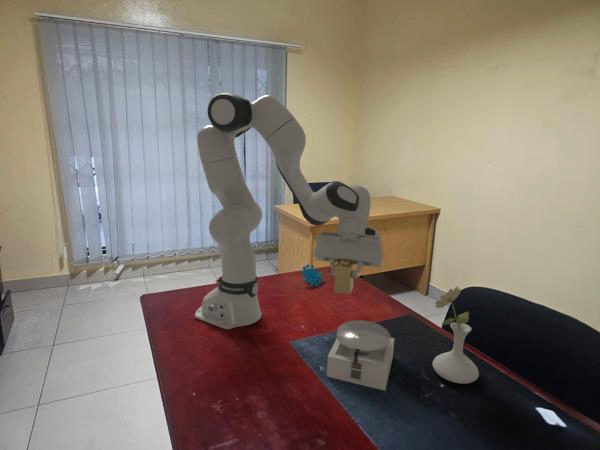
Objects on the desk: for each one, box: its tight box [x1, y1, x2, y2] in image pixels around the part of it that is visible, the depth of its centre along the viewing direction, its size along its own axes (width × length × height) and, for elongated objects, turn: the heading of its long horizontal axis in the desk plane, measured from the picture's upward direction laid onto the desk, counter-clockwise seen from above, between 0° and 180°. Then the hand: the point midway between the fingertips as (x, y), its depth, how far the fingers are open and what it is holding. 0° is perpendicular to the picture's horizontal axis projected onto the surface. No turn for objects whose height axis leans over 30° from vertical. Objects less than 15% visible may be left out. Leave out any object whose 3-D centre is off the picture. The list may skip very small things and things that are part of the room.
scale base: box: [326, 337, 395, 392], centre depth 101 cm, size 15×15×6 cm
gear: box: [300, 264, 323, 287], centre depth 155 cm, size 11×6×10 cm
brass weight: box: [333, 260, 355, 295], centre depth 107 cm, size 4×4×9 cm
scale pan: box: [336, 319, 391, 367], centre depth 99 cm, size 14×16×6 cm
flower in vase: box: [432, 286, 480, 385], centre depth 96 cm, size 13×11×25 cm
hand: (343, 276), depth 107 cm, fingers closed on brass weight, 5 cm apart
